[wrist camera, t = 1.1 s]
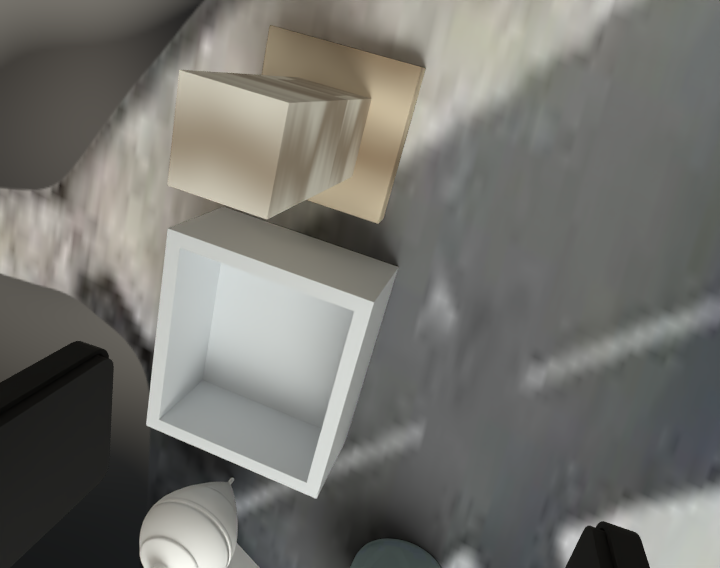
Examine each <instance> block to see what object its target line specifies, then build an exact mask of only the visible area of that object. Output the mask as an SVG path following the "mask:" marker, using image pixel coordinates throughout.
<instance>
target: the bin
mask: <svg viewBox="0 0 720 568" xmlns="http://www.w3.org/2000/svg"><path fill="white" fill-rule="evenodd" d="M398 268H399V267H397V266H394V265H391V264H388V263H386V262H383V261H380V260H377V259H374V258H371V257H368V256H365V255H362V254H359V253H357V252H354V251H351V250H348V249H345V248H342V247H339V246H336V245H333V244H330V243H328V242H325V241H322V240H319V239H316V238H313V237H310V236H307V235H304V234H301V233H298V232H296V231H293V230H290V229H287V228H284V227H281V226H278V225H275V224H272V223H269V222H267V221H264V220H261V219H258V218H255V217H252V216H249V215H246V214H243V213H240V212H238V211H235V210H232V209H229V208H226V207H222V208H219V209H216V210H214V211H211V212H209V213H206V214H204V215H201V216H198V217H196V218H193V219H191V220H188V221H186V222H183V223H180V224H178V225H175V226H173V227H170V228H168V231H167V240H166V249H165V258H164V267H163V277H162V286H161V295H160V304H159V313H158V322H157V331H156V340H155V349H154V358H153V367H152V376H151V385H150V395H149V405H148V413H147V422H146V425H147V426H149V427H151V428H154V429H156V430H158V431H160V432H163V433H165V434H167V435H170V436H172V437H174V438H177V439H179V440H181V441H184V442H186V443H188V444H191V445H193V446H195V447H198V448H200V449H202V450H205V451H207V452H209V453H212V454H214V455H216V456H218V457H221V458H223V459H225V460H228V461H230V462H232V463H235V464H237V465H239V466H242V467H244V468H246V469H249V470H251V471H253V472H256V473H258V474H260V475H263V476H265V477H267V478H269V479H272V480H274V481H276V482H279V483H281V484H283V485H286V486H288V487H290V488H293V489H295V490H297V491H300V492H302V493H304V494H307V495H309V496H311V497H314V498H316V499H317V497H318V495H319V493H320V491H321V489H322V487H323V485H324V483H325V481H326V479H327V477H328V475H329V473H330V471H331V469H332V467H333V465H334V463H335V461H336V459H337V457H338V455H339V453H340V451H341V449H342V447H343V445H344V443H345V441H346V438H347V435H348V432H349V429H350V425H351V422H352V419H353V415H354V412H355V409H356V406H357V402H358V399H359V396H360V392H361V389H362V386H363V383H364V379H365V376H366V373H367V369H368V366H369V363H370V360H371V356H372V353H373V350H374V347H375V343H376V340H377V337H378V333H379V330H380V327H381V324H382V320H383V317H384V314H385V310H386V307H387V304H388V301H389V297H390V294H391V291H392V287H393V284H394V281H395V278H396V274H397V271H398Z"/></svg>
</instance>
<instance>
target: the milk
mask: <svg viewBox="0 0 720 568" xmlns="http://www.w3.org/2000/svg"><path fill="white" fill-rule="evenodd" d="M227 568H259V567H258V565H257V564H256V563H255V562H254V561H253V560H252V559H251V558H250V557H249V556H248V555H247V554H246V552H245V551H244V550H243V549H242V548H241V547H240V546H239V545H238V544H237V543H236V547H235V551H234V554H233V556H232V559H231V561H230V563H229V565H228V566H227Z"/></svg>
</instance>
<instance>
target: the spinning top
mask: <svg viewBox="0 0 720 568" xmlns="http://www.w3.org/2000/svg"><path fill="white" fill-rule="evenodd" d="M233 481H234V478H230V480H229V481H228V482H209V483H203V484H197V485H191V486H188V487H185V488H182V489H179V490H177V491H174V492H172V493H170V494H168V495H166V496H164V497H163V498H162V499H160V500H159V501H158V502H157V503H156V504H155V505H154V506H153V507H152V508H151V509H150V511H149V512H148V514H147V515H146V517H145V519H144V521H143V524H142V527H141V531H140V540H139V543H140V559H141V562H142V565H143V566H144V568H227V566H228V565H229V563H230V561H231V559H232V556H233V554H234V551H235V547H236V542H237V530H238V517H237V509H236V502H235V497H234V493H233V489H232V487H231V484H232V482H233Z"/></svg>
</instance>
